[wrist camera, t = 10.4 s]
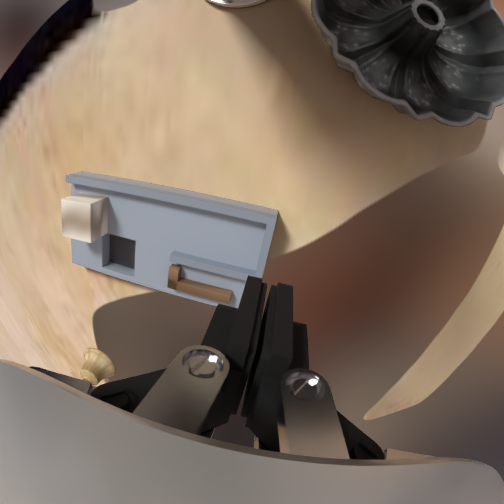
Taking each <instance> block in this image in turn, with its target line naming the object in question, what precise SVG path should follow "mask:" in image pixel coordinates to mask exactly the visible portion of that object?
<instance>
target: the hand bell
mask: <svg viewBox="0 0 504 504" xmlns="http://www.w3.org/2000/svg"><path fill="white" fill-rule="evenodd" d="M84 360H85V362H84V366H83V368H82V370H81V372H80V374H81V377H82V378H83V380H85V381H89V382H91V384H92V385H97V384H98V383H99V382H100V381H101V380H102V379H104V378H109V377H112V376H114V375H115V373H116V368H115V366H114V364H113V362H112V361H111V359H110V358H109V357H108V356H107V355H106V354H104V353H103V352H101V351H100V350H97V349H95V348H88V349H86V350H85V352H84Z"/></svg>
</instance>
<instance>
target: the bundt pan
mask: <svg viewBox="0 0 504 504" xmlns="http://www.w3.org/2000/svg"><path fill="white" fill-rule="evenodd" d="M311 11H312V16H313V18H314V21H315V23H316V24H317V26H318V27H319V29H320V30H321V33H322V36H323V37H324V39H325V41H326V42H327V43H328V44H329V45H330V46H331V47H332V53H333V56H334V58H335V59H336V64H337V66H338V67H341V68H343V69H346V70H348V71H350V72H352V73H353V75H354V78H355V80H356V82H357V83H358V85H359V86H360V87H361V88H362V89H363V90H364V91H365V92H366V93H368V94H369V95H371V96H373V97H375V98H378V99H381V100H383V101H386V102H388V103H391V104H392V105H393V106H394V107H395V109H396V110H397V111H398V112H400V113H403V114H408V115H411V116H412V117H413V118H414V119H415V120H424V119H427V118H434V119H435V120H436V121H438V122H440V123H442V124H444V125H447V126H452V127H463V126H466V125H469V124H471V123H472V122H473V121H475V120H476V119H477V118H482V119H485V120H490V119H491V118H492V116H493V112H494V108H495V107H497V106H500V105H502V104H503V103H504V20H503V18H502V17H501V16H500V14H499V13H498V11H497V10H496V9H495V7H494V4H493V0H311Z"/></svg>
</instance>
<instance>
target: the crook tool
mask: <svg viewBox="0 0 504 504" xmlns="http://www.w3.org/2000/svg"><path fill="white" fill-rule="evenodd" d="M181 269H182V266H180V265H177V264H172V265H171V266H170V267H169V273H168V285H167V288H171V289H174V290H178V291H181V292H185V293H189V294H192V295H196V296H200V297H204V298H207V299H211V300H215V301H219V302H223V303H227V304H229V302H230V300H231V295H232V290H228V289H224V288H220V287H216V286H212V285H209V284H205V283H201V282H197V281H193V280H189V279H186V278H182V277H181Z"/></svg>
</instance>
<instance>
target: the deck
mask: <svg viewBox="0 0 504 504" xmlns="http://www.w3.org/2000/svg"><path fill="white" fill-rule="evenodd" d="M66 182H69V183H72V190H71V195H74V194H77V193H87V194H94V195H100V196H106V197H108V233H107V234H105V235H103V236H102V237H100V238H99V239H97V240H95V241H94V242H92V243H88V242H84V241H80V240H76V239H72V238H71V245H72V263H75V264H78V265H80V266H83V267H86V268H89V269H92V270H95V271H98V272H101V273H104V274H107V275H111V276H114V277H117V278H120V279H123V280H126V281H129V282H133V283H136V284H139V285H143V286H146V287H149V288H153V289H156V290H159V291H163V292H166V293H170V294H173V295H177V296H180V297H184V298H188V299H192V300H195V301H199V302H202V303H206V304H210V305H214V306H217V305H218V304H223V305H227V306H231V307H235V308H238V307H239V303H240V300H241V297H242V294H243V290H244V287H245V284H246V280H247V277H248V275H250V276H254V277H258V278H262V276H263V272H264V268H265V264H266V260H267V256H268V252H269V248H270V244H271V240H272V236H273V232H274V228H275V224H276V220H277V214H278V210H274V209H270V208H265V207H261V206H257V205H252V204H248V203H244V202H239V201H235V200H230V199H226V198H221V197H217V196H212V195H207V194H202V193H198V192H193V191H188V190H183V189H178V188H173V187H168V186H163V185H157V184H152V183H147V182H141V181H136V180H130V179H125V178H119V177H113V176H107V175H101V174H95V173H89V172H77V173H74V174H70V175H66ZM172 264H177V265H180V266H182V269H181V277H182V278H186V279H189V280H193V281H197V282H201V283H205V284H209V285H212V286H216V287H220V288H224V289H228V290H232V295H231V300H230V302H229V304H227V303H223V302H219V301H215V300H211V299H207V298H204V297H200V296H196V295H192V294H189V293H185V292H181V291H178V290H174V289H171V288H167V285H168V273H169V267H170V266H171V265H172Z"/></svg>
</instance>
